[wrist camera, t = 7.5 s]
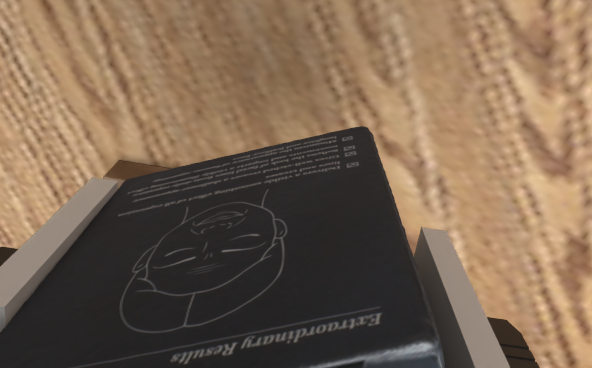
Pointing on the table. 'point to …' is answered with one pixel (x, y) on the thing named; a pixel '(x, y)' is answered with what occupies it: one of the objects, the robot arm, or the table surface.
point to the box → (238, 270)
